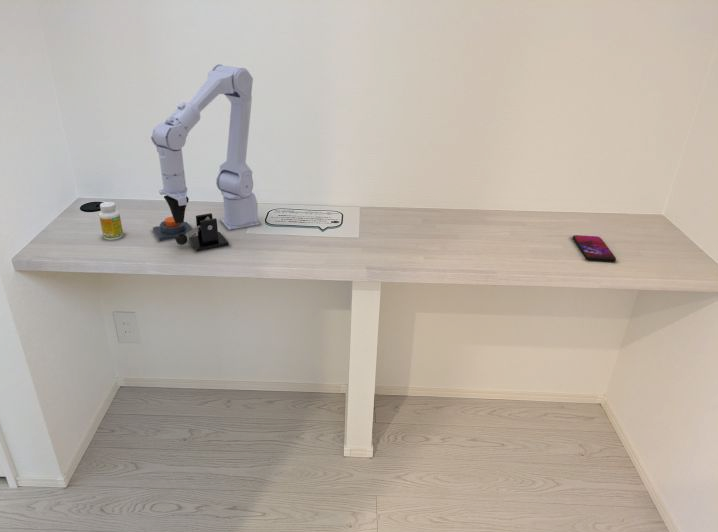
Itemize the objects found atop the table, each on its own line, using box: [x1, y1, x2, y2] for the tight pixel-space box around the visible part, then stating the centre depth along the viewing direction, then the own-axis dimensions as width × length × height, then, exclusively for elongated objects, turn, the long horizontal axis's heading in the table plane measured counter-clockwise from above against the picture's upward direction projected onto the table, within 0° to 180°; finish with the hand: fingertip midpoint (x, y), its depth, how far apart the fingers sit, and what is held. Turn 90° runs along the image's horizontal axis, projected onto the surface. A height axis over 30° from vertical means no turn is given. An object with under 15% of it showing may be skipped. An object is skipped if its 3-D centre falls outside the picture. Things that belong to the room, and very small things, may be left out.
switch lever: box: [175, 216, 210, 246], centre depth 156 cm, size 11×3×3 cm, turn 116°
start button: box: [164, 216, 180, 227], centre depth 164 cm, size 4×4×2 cm
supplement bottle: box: [98, 201, 124, 241], centre depth 161 cm, size 5×5×10 cm
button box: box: [152, 220, 193, 242], centre depth 165 cm, size 10×8×3 cm
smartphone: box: [572, 234, 617, 262], centre depth 159 cm, size 8×1×15 cm
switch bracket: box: [188, 212, 230, 253], centre depth 158 cm, size 9×8×8 cm
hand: (179, 221), depth 153 cm, fingers closed
